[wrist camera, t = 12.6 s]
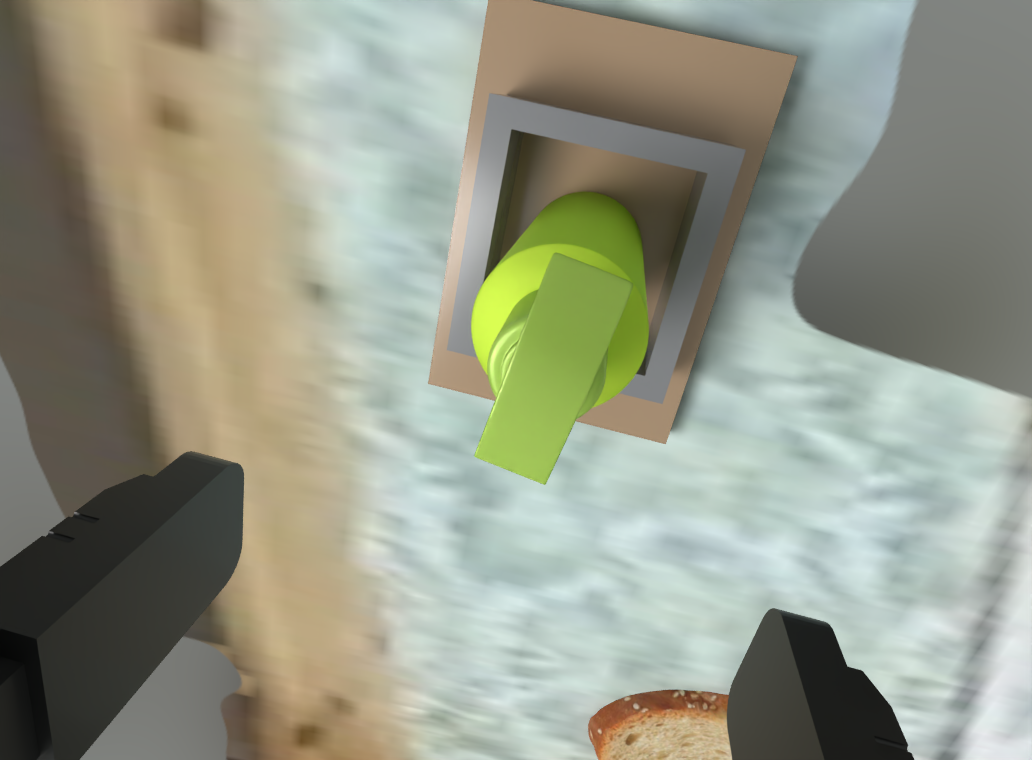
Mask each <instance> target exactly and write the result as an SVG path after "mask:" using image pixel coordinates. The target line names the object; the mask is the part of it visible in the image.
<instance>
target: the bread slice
mask: <svg viewBox="0 0 1032 760" xmlns="http://www.w3.org/2000/svg"><path fill="white" fill-rule="evenodd" d="M728 698H729V695H724V694H717V693H712V692H703V691H686V690H662V691H653V692H646V693H640V694H635V695H630V696H627V697H624V698H622V699H619V700H616V701H614V702H612V703H610V704H608V705H607V706H605V707H603V708H602V709H600V710H599V711H598V712H597V713H596V714H595V715H594V716H593V717H591V719H590V721H589V724H588V731H589V737H590V740H591V742H592V744H593V745H594V748H595V751H596V755H597V757H598V759H599V760H732V755H731V748H730V742H729V735H728V729H727V705H728Z"/></svg>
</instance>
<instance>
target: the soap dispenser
mask: <svg viewBox="0 0 1032 760" xmlns="http://www.w3.org/2000/svg"><path fill="white" fill-rule="evenodd" d="M471 334H472V341H473V345H474V349H475V352H476V355H477V357H478V360H479V362H480V364H481V366H482V368H483V369H484V371H485V372H486V374H487V375H488V380H489V384H490V387H491V389H492V391H493V393H494V395H495V397H496V400H495V403H494V405H493V408H492V410H491V413H490V416H489V418H488V421H487V424H486V426H485V429H484V431H483V434H482V437H481V439H480V442H479V445H478V447H477V450H476V452H475V455H474V456H475V457H476V458H479V459H481V460H484V461H486V462H489V463H491V464H494V465H496V466H499V467H501V468H504V469H506V470H509V471H511V472H514V473H516V474H519V475H521V476H524V477H526V478H529V479H531V480H534V481H536V482H539V483H541V484H544V485H545V484H546V482H547V480H548V478H549V476H550V474H551V472H552V470H553V468H554V466H555V463H556V461H557V459H558V457H559V455H560V453H561V451H562V448H563V446H564V444H565V442H566V440H567V438H568V436H569V433H570V431H571V429H572V427H573V425H574V423H575V421H576V419H578V418H580V417H581V416H583V415H584V414H586V413H587V412H588V411H589V410H590V409H591V408H593V407H596V406H598V405H601V404H603V403H605V402H607V401H608V400H610V399H611V398H613V397H614V396H616V395H617V394H618V393H620V392H621V391H622V390H623V389H624V388H625V387H626V386H627V385H628V384H629V383H630V381H631V380H632V379H633V378H634V376H635V375H636V373H637V371H638V370H639V368H640V366H641V364H642V362H643V359H644V356H645V353H646V350H647V345H648V338H649V322H648V310H647V297H646V285H645V273H644V260H643V248H642V239H641V234H640V231H639V228H638V226H637V224H636V222H635V220H634V218H633V217H632V215H631V214H630V213H629V211H628V210H627V209H626V208H625V207H624V206H623V205H621V204H620V203H619V202H617V201H616V200H614V199H612V198H610V197H608V196H606V195H603V194H600V193H595V192H575V193H571V194H567V195H564V196H562V197H560V198H558V199H556V200H554V201H553V202H551V203H550V204H549V205H547V206H546V207H545V208H544V209H543V210H542V211H541V212H540V214H539V215H538V216H537V217H536V218H535V220H534V221H533V222H532V223H531V224H530V226H529V227H528V228H527V229H526V231H525V232H524V233H523V234H522V235H521V237H520V238H519V239H518V240H517V242H516V243H515V244H514V245H513V246H512V248H511V249H510V250H509V251H508V252H507V254H506V255H505V256H504V257H503V259H502V260H501V261H500V262H499V263H498V265H497V266H496V267H495V268H494V269H493V271H492V272H491V273H490V274H489V276H488V277H487V278H486V280H485V281H484V283H483V284H482V286H481V288H480V290H479V292H478V294H477V297H476V299H475V303H474V306H473V311H472V318H471Z"/></svg>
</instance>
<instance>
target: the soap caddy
mask: <svg viewBox="0 0 1032 760" xmlns="http://www.w3.org/2000/svg"><path fill="white" fill-rule="evenodd" d="M797 57H798V56H794V55H790V54H785V53H780V52H775V51H771V50H766V49H761V48H756V47H752V46H747V45H742V44H737V43H733V42H728V41H723V40H718V39H713V38H709V37H704V36H699V35H694V34H690V33H685V32H680V31H675V30H671V29H666V28H661V27H656V26H652V25H647V24H642V23H637V22H633V21H628V20H623V19H618V18H613V17H609V16H604V15H599V14H594V13H590V12H585V11H580V10H575V9H571V8H566V7H561V6H556V5H552V4H547V3H542V2H537V1H533V0H488V6H487V12H486V19H485V25H484V31H483V38H482V44H481V50H480V57H479V63H478V70H477V76H476V82H475V89H474V95H473V101H472V108H471V114H470V120H469V127H468V133H467V140H466V146H465V152H464V159H463V165H462V171H461V178H460V184H459V190H458V197H457V203H456V210H455V216H454V222H453V229H452V235H451V241H450V248H449V254H448V260H447V267H446V273H445V279H444V286H443V292H442V299H441V305H440V311H439V318H438V324H437V330H436V337H435V343H434V349H433V356H432V362H431V369H430V375H429V381H428V384H431V385H435V386H439V387H443V388H447V389H451V390H455V391H459V392H463V393H467V394H471V395H475V396H479V397H483V398H486V399H490V400H494V401H495V400H496V397H495V395H494V393H493V391H492V389H491V387H490V384H489V380H488V375H487V374H486V372H485V371H484V369H483V368H482V366H481V364H480V362H479V360H478V357H477V355H476V352H475V349H474V345H473V341H472V334H471V318H472V311H473V306H474V303H475V299H476V297H477V294H478V292H479V290H480V288H481V286H482V284H483V283H484V281H485V280H486V278H487V277H488V276H489V274H490V273H491V272H492V271H493V269H494V268H495V267H496V266H497V265H498V263H499V262H500V261H501V260H502V259H503V257H504V256H505V255H506V254H507V252H508V251H509V250H510V249H511V248H512V246H513V245H514V244H515V243H516V242H517V240H518V239H519V238H520V237H521V235H522V234H523V233H524V232H525V231H526V229H527V228H528V227H529V226H530V224H531V223H532V222H533V221H534V220H535V218H536V217H537V216H538V215H539V214H540V212H541V211H542V210H543V209H544V208H545V207H546V206H547V205H549V204H550V203H551V202H553V201H554V200H556V199H558V198H560V197H562V196H564V195H567V194H571V193H575V192H595V193H600V194H603V195H606V196H608V197H610V198H612V199H614V200H616V201H617V202H619V203H620V204H621V205H623V206H624V207H625V208H626V209H627V210H628V211H629V213H630V214H631V215H632V217H633V218H634V220H635V222H636V224H637V226H638V228H639V231H640V234H641V239H642V248H643V260H644V273H645V285H646V297H647V310H648V322H649V338H648V345H647V350H646V353H645V356H644V359H643V362H642V364H641V366H640V368H639V370H638V371H637V373H636V375H635V376H634V378H633V379H632V380H631V381H630V383H629V384H628V385H627V386H626V387H625V388H624V389H623V390H622V391H621V392H620V393H618V394H617V395H616V396H614V397H613V398H611V399H610V400H608V401H607V402H605V403H603V404H601V405H598V406H596V407H593V408H591V409H590V410H589V411H588V412H587V413H586V414H584V415H583V416H581V417H580V418H578V419H576V421H577V422H581V423H585V424H589V425H593V426H597V427H600V428H604V429H608V430H612V431H616V432H620V433H624V434H628V435H632V436H636V437H640V438H644V439H648V440H652V441H655V442H659V443H663V444H666V442H667V439H668V436H669V433H670V430H671V427H672V424H673V421H674V418H675V415H676V412H677V409H678V406H679V404H680V401H681V398H682V395H683V392H684V389H685V386H686V383H687V380H688V377H689V374H690V371H691V368H692V365H693V362H694V360H695V357H696V354H697V351H698V348H699V345H700V342H701V339H702V336H703V333H704V330H705V327H706V324H707V321H708V318H709V315H710V313H711V310H712V307H713V304H714V301H715V298H716V295H717V292H718V289H719V286H720V283H721V280H722V277H723V274H724V271H725V269H726V266H727V263H728V260H729V257H730V254H731V251H732V248H733V245H734V242H735V239H736V236H737V233H738V230H739V227H740V225H741V222H742V219H743V216H744V213H745V210H746V207H747V204H748V201H749V198H750V195H751V192H752V189H753V186H754V183H755V181H756V178H757V175H758V172H759V169H760V166H761V163H762V160H763V157H764V154H765V151H766V148H767V145H768V142H769V139H770V136H771V134H772V131H773V128H774V125H775V122H776V119H777V116H778V113H779V110H780V107H781V104H782V101H783V98H784V95H785V92H786V90H787V87H788V84H789V81H790V78H791V75H792V72H793V69H794V66H795V63H796V60H797Z"/></svg>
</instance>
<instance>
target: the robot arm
mask: <svg viewBox="0 0 1032 760" xmlns="http://www.w3.org/2000/svg"><path fill="white" fill-rule="evenodd" d="M243 498H244V472H243V469H242V467H241V465H240V464H238V463H234V462H231V461H227V460H223V459H219V458H216V457H212V456H208V455H204V454H201V453H197V452H192V451H190V452H186V453H184V454H182V455H181V456H180V457H178V458H177V459H176V460H175V461H173V462H172V463H171V464H169V465H168V466H167V467H166V468H164V469H163V470H162V471H161V472H159V473H158V474H157V475H155V476H154V477H152V476H148V475H145V474H143V475H140V476H138V477H135V478H133V479H130V480H128V481H125V482H123V483H120V484H118V485H115V486H113V487H110V488H108V489H105V490H104V491H102V492H101V493H100V494H98V495H97V496H96V497H94V498H93V499H92V500H90V501H89V502H88V503H86V504H85V505H83V506H82V507H81V508H79V509H78V510H77V511H75V513H74V516H73V517H67V518H66V519H64V520H63V521H62V522H60V523H59V524H58V525H56V526H55V527H54V528H52V529H51V530H50V531H49V533H48V535H47V536H46V537H45V536H41V537H40V538H39V539H37V540H36V541H35V542H33V543H32V544H31V545H29V546H28V547H27V548H25V549H24V550H22V551H21V552H20V553H18V554H17V555H16V556H14V557H13V558H12V559H10V560H9V561H8V562H6V563H5V564H3V565H2V566H1V567H0V760H80V758H81V757H82V756H83V755H84V754H85V752H86V751H87V750H88V749H89V748H90V746H91V745H92V744H93V743H94V742H95V741H96V739H97V738H98V737H99V736H100V734H101V733H102V732H103V731H104V730H105V729H106V727H107V726H108V725H109V724H110V723H111V721H112V720H113V719H114V718H115V717H116V715H117V714H118V713H119V712H120V711H121V709H122V708H123V707H124V706H125V705H126V703H127V702H128V701H129V700H130V699H131V698H132V696H133V695H134V694H135V693H136V691H137V690H138V689H139V688H140V687H141V686H142V684H143V683H144V682H145V681H146V679H147V678H148V677H149V676H150V675H151V674H152V672H153V671H154V670H155V669H156V668H157V666H158V665H159V664H160V663H161V661H163V659H164V658H165V657H166V656H167V655H168V653H169V652H170V651H171V650H172V649H173V647H174V646H175V645H176V643H178V641H179V640H180V639H181V638H182V637H183V635H184V634H185V633H186V632H187V631H188V629H189V628H190V627H191V626H192V625H193V624H194V622H195V621H196V620H197V619H198V618H199V616H200V615H201V614H202V613H203V612H204V610H205V609H206V608H207V607H208V606H209V604H210V603H211V602H212V601H213V600H214V598H215V597H216V596H217V595H218V594H219V592H220V591H221V590H222V589H223V588H224V586H225V585H226V584H227V582H228V581H229V579H230V578H231V576H232V574H233V572H234V570H235V568H236V566H237V563H238V560H239V557H240V554H241V549H242V536H243ZM727 729H728V735H729V742H730V748H731V755H732V760H914V758H913V756H912V753H910V752H908V751H907V746H908V744H907V742H906V739H905V737H904V735H903V732H902V730H901V728H900V726H899V723H898V721H897V719H896V716H895V714H894V712H893V709H892V707H891V706H890V705H889V703H888V702H887V701H886V700H885V698H884V697H883V696H882V695H881V693H880V692H879V691H878V690H877V688H876V687H875V686H874V685H873V683H872V682H871V681H870V680H869V678H868V677H867V676H866V675H865V674H864V672H863V671H861V670H858V669H854V668H850V667H847V665H846V662H845V659H844V657H843V654H842V652H841V649H840V647H839V644H838V641H837V639H836V636H835V634H834V631H833V629H832V628H831V626H830V625H829V624H828V623H826V622H824V621H820V620H816V619H812V618H809V617H805V616H801V615H797V614H794V613H790V612H786V611H782V610H779V609H775V608H773V609H770V610H769V611H768V612H767V613H766V614H765V616H764V617H763V619H762V621H761V623H760V625H759V628H758V630H757V632H756V634H755V636H754V638H753V640H752V642H751V644H750V646H749V648H748V651H747V653H746V655H745V657H744V659H743V661H742V663H741V665H740V667H739V669H738V672H737V674H736V676H735V678H734V680H733V683H732V685H731V689H730V693H729V698H728V705H727Z"/></svg>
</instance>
